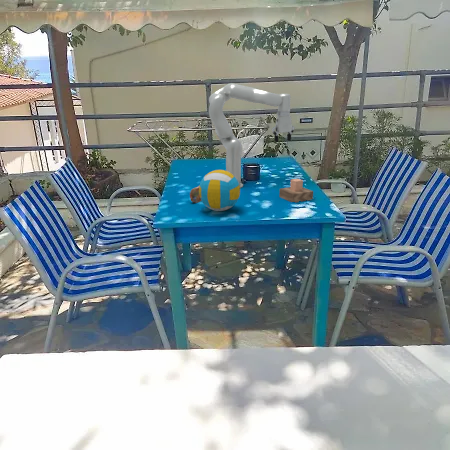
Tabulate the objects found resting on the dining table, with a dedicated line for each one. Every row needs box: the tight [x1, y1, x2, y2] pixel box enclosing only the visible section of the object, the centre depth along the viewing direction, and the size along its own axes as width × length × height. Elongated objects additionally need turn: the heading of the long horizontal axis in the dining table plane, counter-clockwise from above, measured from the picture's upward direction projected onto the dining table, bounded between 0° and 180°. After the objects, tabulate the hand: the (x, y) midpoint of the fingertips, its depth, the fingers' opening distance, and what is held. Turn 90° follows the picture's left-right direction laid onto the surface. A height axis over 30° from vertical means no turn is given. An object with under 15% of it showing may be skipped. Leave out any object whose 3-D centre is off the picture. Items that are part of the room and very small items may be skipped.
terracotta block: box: [289, 178, 304, 191], centre depth 242 cm, size 5×5×6 cm
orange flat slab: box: [189, 185, 202, 204], centre depth 240 cm, size 15×3×8 cm, turn 148°
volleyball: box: [198, 169, 241, 212], centre depth 220 cm, size 22×22×22 cm
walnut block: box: [279, 186, 314, 203], centre depth 244 cm, size 14×14×5 cm
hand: (282, 141), depth 269 cm, fingers open, 9 cm apart
